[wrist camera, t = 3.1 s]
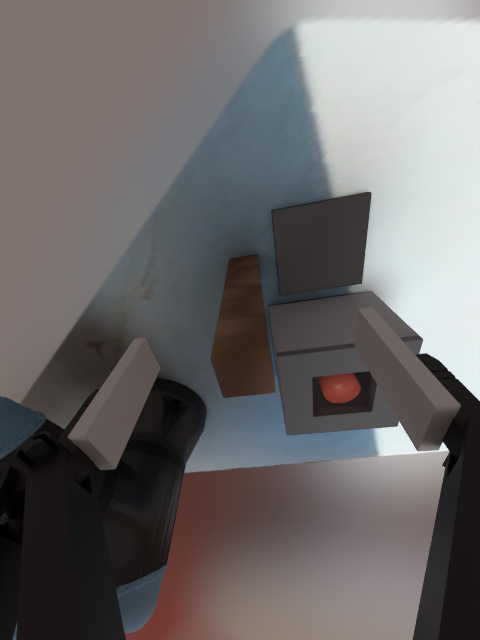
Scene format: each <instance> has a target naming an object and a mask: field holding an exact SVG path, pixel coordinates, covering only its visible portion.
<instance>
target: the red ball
mask: <svg viewBox="0 0 480 640" xmlns="http://www.w3.org/2000/svg"><path fill="white" fill-rule="evenodd" d="M318 380H319V383H320V386H321V389H322V392H323V395H324V397H325V398H326V399H327V400H328V401H330V402H333V403H344V402H348V401H350V400H352V399H354V398H355V397H357V396H358V394H359V393H360V390H361V387H360V384H359V383H358V381H357V379H356V377H355V375H354V373H348V374H338V375H329V376H320V377H318Z"/></svg>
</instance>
